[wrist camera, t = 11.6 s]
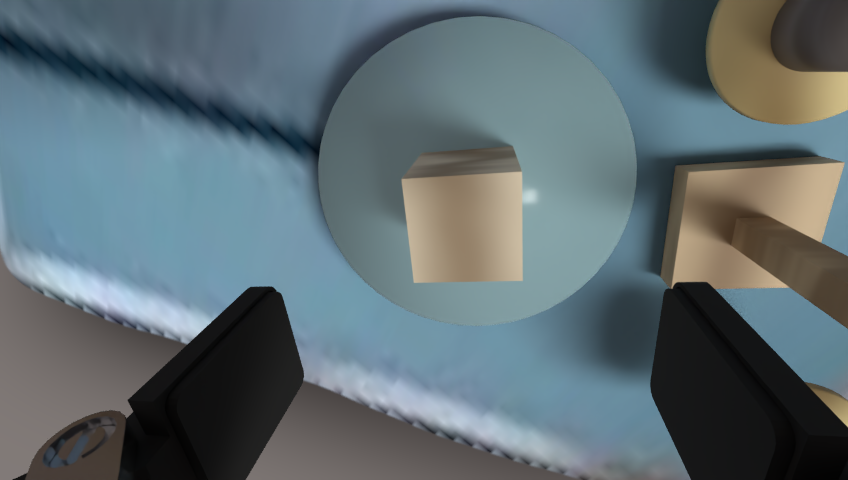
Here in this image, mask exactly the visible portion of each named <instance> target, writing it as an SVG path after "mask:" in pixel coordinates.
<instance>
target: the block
mask: <svg viewBox="0 0 848 480" xmlns="http://www.w3.org/2000/svg"><path fill="white" fill-rule="evenodd" d="M401 180H402V188H403V196H404V205H405V213H406V221H407V230H408V238H409V246H410V255H411V263H412V271H413V279H414V283H431V282H488V281H523V243H522V170H521V167H520V164H519V161H518V159H517V156H516V153H515V150H514V148H513V146H508V147H494V148H481V149H467V150H453V151H439V152H426V153H421V155H420V156H419V157H418V158H417V160H416V161H415V162H414V164H413V165H412V166H411V167H410V169H409V170H408V171H407V173H406V174H405V175H404V176H403V178H402V179H401Z"/></svg>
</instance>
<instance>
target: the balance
mask: <svg viewBox="0 0 848 480" xmlns="http://www.w3.org/2000/svg"><path fill="white" fill-rule="evenodd" d="M706 64H707V69H708V74H709V77H710V80H711V82H712V85H713V87H714V88H715V90H716V92H717V94H718V95H719V96H720V97H721V99H722V100H723V101H724V102H725V103H726V104H727V105H728V106H729V107H731V108H732V109H733V110H735V111H736V112H738V113H740V114H741V115H744V116H746V117H748V118H751V119H754V120H758V121H762V122H768V123H774V124H784V125H785V124H802V123H810V122H814V121H818V120H822V119H826V118H828V117H831V116H834V115H837V114H839V113H841V112H844V111H846V110H848V0H719V1H718V3H717V6H716V8H715V10H714V12H713V15H712V18H711V21H710V24H709V29H708V34H707V39H706ZM844 163H845V162H841V161H837V160H833V159H829V158H825V157H821V156H814V157H799V158H784V159H768V160H753V161H737V162H722V163H707V164H691V165H676V166H675V173H674V180H673V187H672V195H671V202H670V210H669V217H668V224H667V232H666V239H665V246H664V254H663V261H662V268H661V276H660V277H661V278H662V279H663V280H664V282H665V283H666V284H667V285H668V286H669V287H670V289H673V286H674V284H675V283H676V282H708V283H709V284H710V285H711V286H712V287H713V288H714V289H730V288H791V289H793V290H794V291H795V292H797V293H798V294H800V295H801V296H802V297H804V298H805V299H807V300H808V301H810V302H811V303H812V304H814V305H815V306H817V307H818V308H819V309H821V310H822V311H824V312H825V313H826V314H828V315H829V316H831V317H832V318H833V319H835V320H836V321H838V322H839V323H840V324H842V325H843V326H845V327H846V328H847V329H848V256H846V255H844V254H842V253H840V252H838V251H836V250H834V249H832V248H830V247H828V246H826V245H824V244H822V243H821V241H822V238H823V234H824V231H825V228H826V224H827V221H828V217H829V214H830V211H831V207H832V204H833V200H834V197H835V194H836V190H837V187H838V183H839V180H840V177H841V173H842V170H843V166H844ZM805 383H806V384H807V385H808V386H809V387H810V388H811V390H812V391H813V392H814V393H815V394H816V395H817V396H818V397H819V398H820V399H821V400H822V401H823V402H824V403H825V404H826V405H827V406H828V407H829V408H830V409H831V410H832V411H833V412H834V413H835V414H836V415H837V416H838V418H839V419H840V420H841V421H842V422H843V423H844V424H845V425H846V426H847V427H848V400H846V399H845V398H844V397H842V396H841V395H840V394H838V393H836V392H834V391H832V390H830V389H828V388H825V387H823V386H819V385H816V384H812V383H807V382H805Z"/></svg>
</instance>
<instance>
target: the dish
mask: <svg viewBox="0 0 848 480" xmlns="http://www.w3.org/2000/svg"><path fill="white" fill-rule="evenodd" d="M508 146H513V148H514V150H515V153H516V156H517V159H518V161H519V164H520V167H521V170H522V243H523V281H488V282H431V283H414V279H413V271H412V263H411V255H410V246H409V238H408V230H407V221H406V213H405V205H404V196H403V188H402V180H401V179H402V178H403V176H404V175H405V174H406V173H407V171H408V170H409V169H410V167H411V166H412V165H413V164H414V162H415V161H416V160H417V158H418V157H419V156H420V155H421V153H426V152H439V151H453V150H467V149H481V148H494V147H508ZM636 179H637V159H636V150H635V142H634V138H633V134H632V130H631V127H630V123H629V119H628V117H627V115H626V112H625V110H624V108H623V106H622V103H621V101H620V99H619V97H618V96H617V94H616V92H615V91H614V89H613V88H612V86H611V85H610V83H609V82H608V80H607V79H606V77H605V76H604V75H603V74H602V73H601V72H600V71H599V69H598V68H597V67H596V66H595V65H594V64H593V63H592V61H590V60H589V59H588V58H587V57H586V56H584V55H583V54H582V53H581V52H580V51H578V50H577V49H576V48H575V47H574V46H572V45H571V44H569V43H567V42H566V41H564V40H562V39H561V38H559V37H557V36H556V35H554V34H552V33H550V32H548V31H545V30H543V29H540V28H538V27H536V26H533V25H531V24H527V23H523V22H519V21H515V20H511V19H507V18H497V17H486V16H475V17H458V18H453V19H448V20H443V21H438V22H434V23H431V24H428V25H425V26H423V27H420V28H417V29H415V30H412V31H410V32H408V33H406V34H404V35H403V36H401V37H399V38H397V39H395V40H393V41H391V42H390V43H389V44H387V45H386V46H385V47H383V48H382V49H380V50H379V51H378V52H376V53H375V54H374V55H372V56H371V57H370V58H369V59H368V60H367V61H366V62H365V63H364V64H363V65H362V66H361V67H360V68H359V69H358V70H357V71H356V73H355V74H354V75H353V77H352V78H351V79H350V80H349V82H348V83H347V84H346V86H345V87H344V88H343V90H342V92H341V94H340V95H339V97H338V99H337V101H336V102H335V104H334V106H333V108H332V111H331V113H330V116H329V118H328V121H327V123H326V126H325V130H324V134H323V137H322V141H321V145H320V154H319V163H318V184H319V191H320V198H321V204H322V208H323V212H324V215H325V219H326V222H327V224H328V227H329V229H330V232H331V234H332V237H333V239H334V241H335V242H336V244H337V246H338V248H339V250H340V251H341V253H342V255H343V256H344V257H345V259H346V260H347V261H348V263H349V264H350V266H351V267H352V268H353V269H354V270H355V272H356V273H357V274H358V275H359V276H360V277H361V278H362V279H363V280H364V281H365V282H366V283H367V284H368V285H369V286H370V287H372V288H373V289H374V290H375V291H376V292H377V293H379V294H380V295H382V296H383V297H385V298H386V299H388V300H389V301H391V302H392V303H394V304H396V305H398V306H399V307H401V308H403V309H405V310H407V311H409V312H412V313H414V314H417V315H419V316H422V317H424V318H428V319H432V320H435V321H439V322H444V323H450V324H456V325H470V326H482V325H496V324H502V323H508V322H513V321H517V320H520V319H524V318H527V317H531V316H533V315H535V314H538V313H540V312H543V311H545V310H547V309H549V308H551V307H553V306H555V305H556V304H558V303H560V302H562V301H564V300H565V299H566V298H568V297H569V296H571V295H572V294H573V293H575V292H576V291H578V290H579V289H580V288H581V287H582V286H583V285H584V284H586V283H587V282H588V281H589V280H590V279H591V278H592V277H593V276H594V275H595V274H596V273H597V272H598V270H599V269H600V268H601V267H602V266H603V264H604V263H605V262H606V261H607V259H608V258H609V256H610V255H611V253H612V252H613V250H614V249H615V247H616V245H617V244H618V242H619V240H620V238H621V236H622V233H623V231H624V229H625V227H626V225H627V222H628V219H629V216H630V212H631V209H632V206H633V201H634V195H635V189H636Z"/></svg>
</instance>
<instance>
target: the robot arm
mask: <svg viewBox="0 0 848 480" xmlns="http://www.w3.org/2000/svg"><path fill="white" fill-rule="evenodd" d="M303 378H304V371H303V367H302V364H301V360H300V357H299V353H298V350H297V346H296V343H295V339H294V336H293V332H292V328H291V325H290V321H289V318H288V314H287V311H286V307H285V304H284V300H283V297H282V295H281V293H279V292H277V291H276V290H275V288H273V287H250V288H248V289H247V290H246V291H245V292H244V293H242V294H241V295H240V296H239V297H238V298H237V299H236V300H235V301H234V302H233V303H232V304H231V305H230V306H228V307H227V308H226V309H225V310H224V311H223V312H222V313H221V314H220V315H219V316H218V317H217V318H216V319H214V320H213V321H212V322H211V323H210V324H209V325H208V326H207V327H206V328H205V329H204V330H203V331H202V332H200V333H199V334H198V335H197V336H196V337H195V338H194V339H193V340H192V341H191V342H190V343H189V344H188V345H187V346H186V347H184V348H183V349H182V350H181V351H180V352H179V353H178V354H177V355H176V356H175V357H174V358H172V360H170V361H169V362H168V363H167V364H166V365H165V366H164V367H163V368H162V369H161V370H160V371H159V372H157V373H156V374H155V375H154V376H153V377H152V378H151V379H150V380H149V381H148V382H147V383H146V384H145V385H143V386H142V387H141V388H140V389H139V390H138V391H137V392H136V393H135V394H134V395H133V396H132V397H131V398H130V399H128V402H129V404H130V406H131V408H132V410H133V413H132V414H131V415H130V416H129V417H128V418H127V419H126V417H125V415H124V414H122V413H121V412H120V411H113V410H109V411H102V412H98V413H95V414H91V415H89V416H86V417H84V418H82V419H80V420H77V421H75V422H73V423H71V424H70V425H68V426H67V427H65V428H63V429H62V430H60V431H59V432H58V433H56V434H55V435H54V436H52V437H51V438H50V439H49V440H48V441H47V442H46V443H45V444H44V445H43V446H42V447H41V448H40V449H39V450H38V452H37V453H36V455H35V457H34V458H33V460H32V462H31V465H30V468H29V471H28V473H26V474H24V475H22V476H20V477H18V478H16V479H13V480H246V478H247V476H248V475H249V473H250V471H251V470H252V468H253V466H254V465H255V463H256V461H257V460H258V458H259V456H260V454H261V453H262V451H263V449H264V448H265V446H266V444H267V443H268V441H269V439H270V437H271V436H272V434H273V433H274V431H275V429H276V427H277V426H278V424H279V422H280V420H281V419H282V417H283V416H284V414H285V412H286V411H287V409H288V407H289V405H290V404H291V402H292V400H293V398H294V397H295V395H296V394H297V392H298V390H299V389H300V387H301V385H302V383H303ZM650 387H651V393H652V397H653V400H654V402H655V404H656V406H657V408H658V410H659V412H660V414H661V417H662V419H663V421H664V423H665V425H666V427H667V429H668V431H669V434H670V436H671V438H672V440H673V442H674V444H675V446H676V449H677V451H678V453H679V455H680V457H681V459H682V461H683V463H684V466H685V468H686V470H687V472H688V474H689V476H690V478H691V480H848V427H847V426H846V425H845V424H844V423H843V422H842V421H841V420H840V419H839V418H838V416H837V415H836V414H835V413H834V412H833V411H832V410H831V409H830V408H829V407H828V406H827V405H826V404H825V403H824V402H823V401H822V400H821V399H820V398H819V397H818V396H817V395H816V394H815V393H814V392H813V391H812V390H811V388H810V387H809V386H808V385H807V384H806V383H805V382H804V381H803V380H802V379H801V378H800V377H799V376H798V375H797V374H796V373H795V372H794V371H793V370H792V369H791V368H790V367H789V366H788V365H787V364H786V363H785V362H784V360H783V359H782V358H781V357H780V356H779V355H778V354H777V353H776V352H775V351H774V350H773V349H772V348H771V347H770V346H769V345H768V344H767V343H766V342H765V341H764V340H763V339H762V338H761V337H760V336H759V335H758V334H757V332H756V331H755V330H754V329H753V328H752V327H751V326H750V325H749V324H748V323H747V322H746V321H745V320H744V319H743V318H742V317H741V316H740V315H739V314H738V313H737V312H736V311H735V310H734V309H733V308H732V307H731V306H730V304H729V303H728V302H727V301H726V300H725V299H724V298H723V297H722V296H721V295H720V294H719V293H718V292H717V291H716V290H715V289H714V288H713V287H712V286H711V285H710V284H709V283H708V282H676V283H675V284H674V286H673V289H666V290H665V292H664V297H663V303H662V310H661V316H660V323H659V329H658V336H657V342H656V349H655V355H654V362H653V368H652V375H651V382H650Z"/></svg>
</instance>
